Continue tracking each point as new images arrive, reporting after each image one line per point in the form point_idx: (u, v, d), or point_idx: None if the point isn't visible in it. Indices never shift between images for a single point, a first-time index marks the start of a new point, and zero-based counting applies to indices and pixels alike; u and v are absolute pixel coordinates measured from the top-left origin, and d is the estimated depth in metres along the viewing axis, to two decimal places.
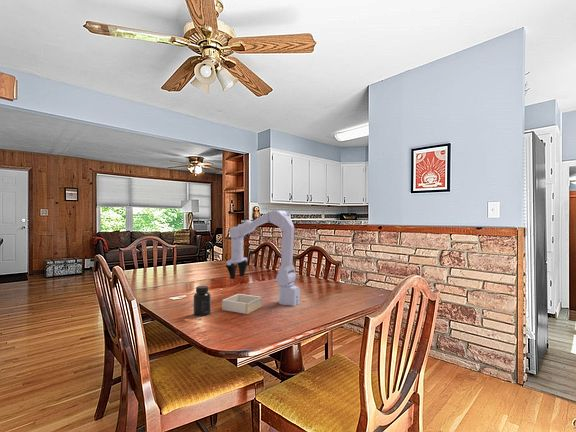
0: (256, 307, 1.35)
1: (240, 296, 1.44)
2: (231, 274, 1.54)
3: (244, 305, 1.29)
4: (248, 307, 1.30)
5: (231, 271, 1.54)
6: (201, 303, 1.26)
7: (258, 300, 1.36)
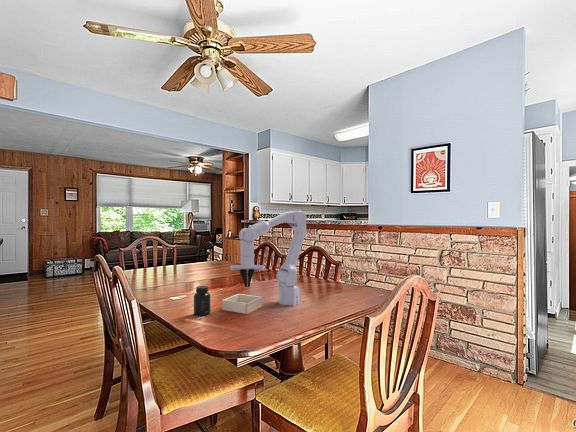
0: (256, 307, 1.35)
1: (240, 296, 1.44)
2: None
3: (244, 305, 1.29)
4: (248, 307, 1.30)
5: None
6: (201, 303, 1.26)
7: (258, 300, 1.36)
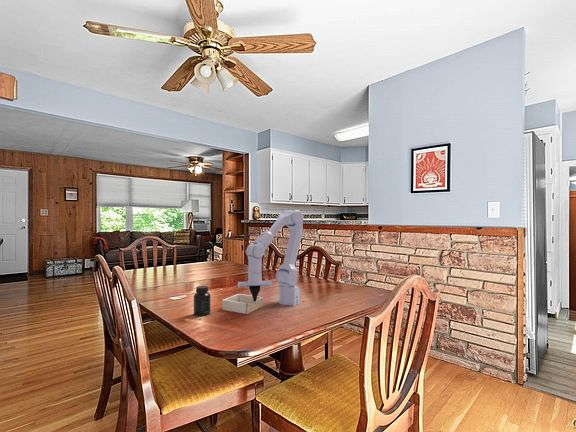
0: (256, 307, 1.35)
1: (240, 296, 1.44)
2: None
3: (244, 305, 1.29)
4: (249, 307, 1.29)
5: None
6: (201, 303, 1.26)
7: (259, 300, 1.36)
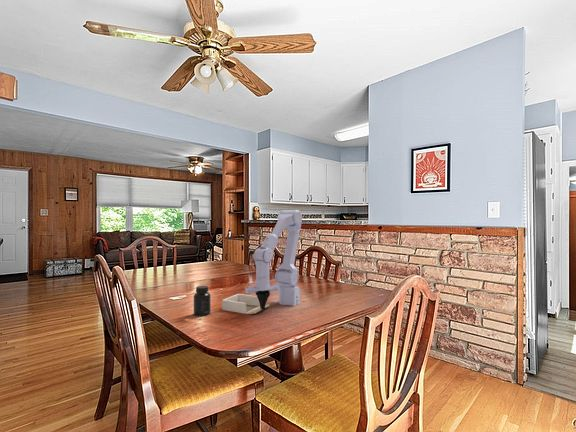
0: (257, 309, 1.35)
1: (240, 296, 1.44)
2: (260, 303, 1.32)
3: (244, 305, 1.29)
4: (252, 313, 1.29)
5: None
6: (201, 303, 1.26)
7: None
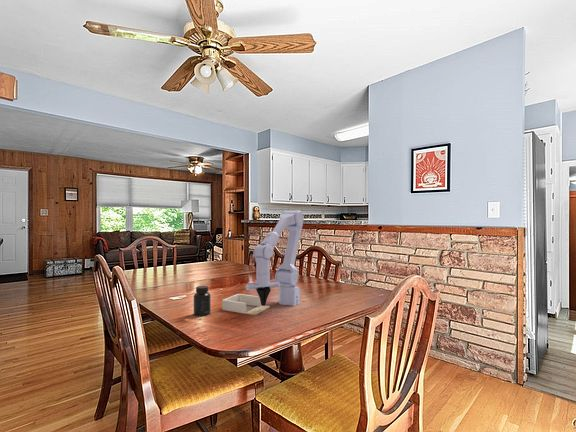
0: None
1: (240, 296, 1.44)
2: (261, 299, 1.32)
3: (244, 305, 1.29)
4: None
5: (261, 296, 1.32)
6: (201, 303, 1.26)
7: None
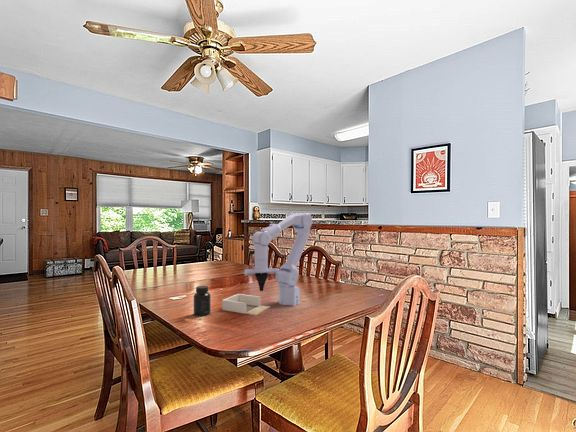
0: None
1: (240, 296, 1.44)
2: None
3: (244, 305, 1.29)
4: None
5: None
6: (201, 303, 1.26)
7: None
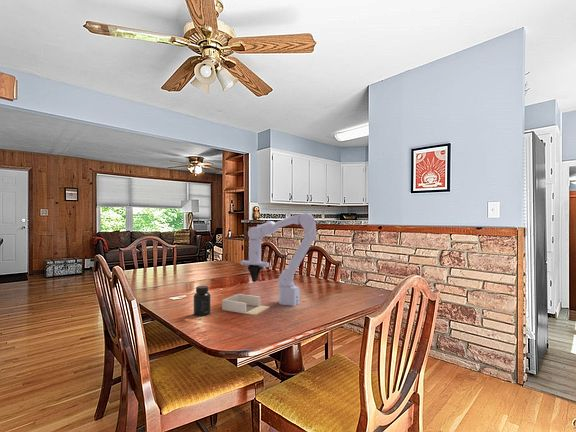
0: None
1: (240, 296, 1.44)
2: None
3: (244, 305, 1.29)
4: None
5: None
6: (201, 303, 1.26)
7: None
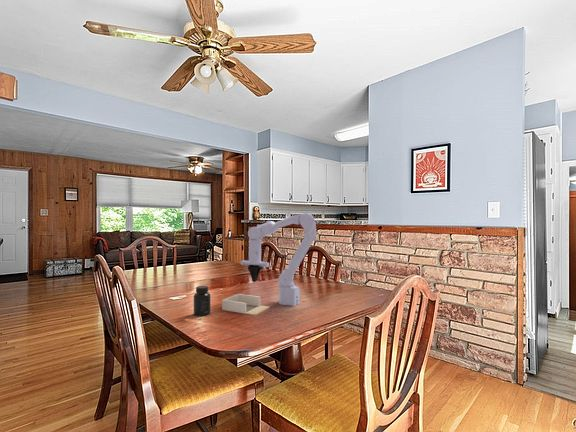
0: None
1: (240, 296, 1.44)
2: None
3: (244, 305, 1.29)
4: None
5: None
6: (201, 303, 1.26)
7: None
